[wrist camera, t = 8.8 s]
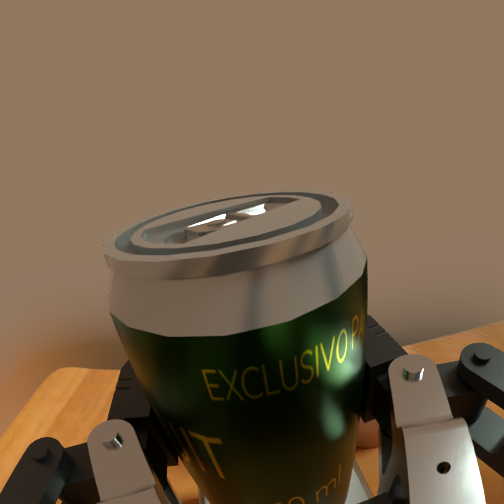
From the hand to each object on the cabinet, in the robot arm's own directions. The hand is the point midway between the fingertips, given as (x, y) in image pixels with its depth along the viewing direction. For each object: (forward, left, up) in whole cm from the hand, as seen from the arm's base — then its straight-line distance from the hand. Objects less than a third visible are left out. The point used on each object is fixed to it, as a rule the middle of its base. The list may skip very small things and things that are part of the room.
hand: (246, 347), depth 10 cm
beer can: (0, +3, -7) cm, 8 cm away
